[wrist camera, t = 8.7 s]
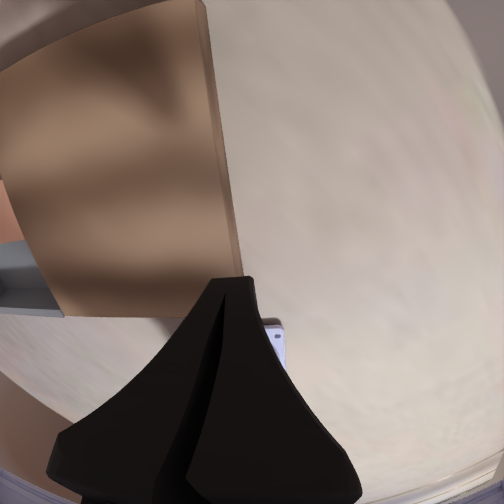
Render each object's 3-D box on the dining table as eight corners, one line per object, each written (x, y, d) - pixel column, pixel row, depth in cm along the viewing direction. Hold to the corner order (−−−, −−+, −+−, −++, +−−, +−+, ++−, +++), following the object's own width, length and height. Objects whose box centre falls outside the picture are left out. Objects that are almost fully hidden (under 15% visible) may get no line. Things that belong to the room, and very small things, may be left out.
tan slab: (245, 284, 22) (242, 315, 20) (79, 291, 23) (64, 315, 21) (205, 6, 12) (193, -6, 10) (9, 78, 13) (-21, 86, 11)
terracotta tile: (43, 221, 19) (25, 239, 17) (8, 228, 19) (-10, 245, 17) (23, 165, 17) (1, 179, 14) (-11, 178, 17) (-31, 192, 15)
